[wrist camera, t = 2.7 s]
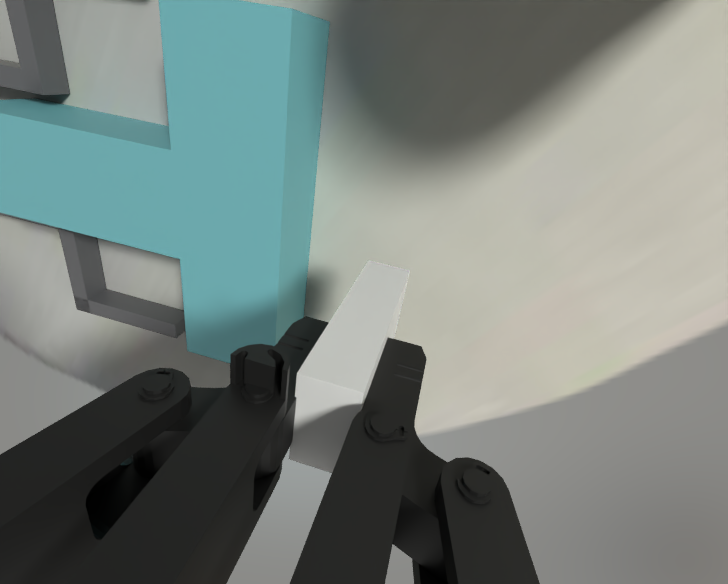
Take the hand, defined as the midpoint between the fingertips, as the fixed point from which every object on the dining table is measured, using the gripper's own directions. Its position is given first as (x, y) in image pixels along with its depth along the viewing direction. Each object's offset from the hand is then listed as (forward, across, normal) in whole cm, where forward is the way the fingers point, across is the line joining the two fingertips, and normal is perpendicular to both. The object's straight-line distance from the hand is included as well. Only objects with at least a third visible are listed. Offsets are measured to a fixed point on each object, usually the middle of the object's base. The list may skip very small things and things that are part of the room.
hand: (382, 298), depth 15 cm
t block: (+7, -13, 0) cm, 15 cm away
